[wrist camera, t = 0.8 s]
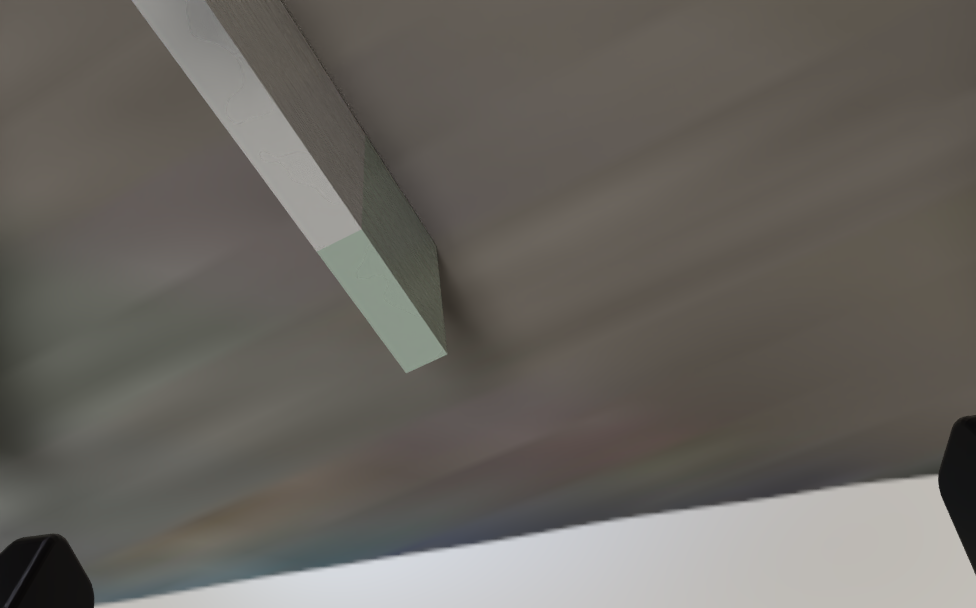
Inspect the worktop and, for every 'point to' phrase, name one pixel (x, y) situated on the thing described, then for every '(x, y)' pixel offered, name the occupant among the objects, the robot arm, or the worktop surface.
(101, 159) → the worktop surface
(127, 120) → the worktop surface
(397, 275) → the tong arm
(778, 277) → the worktop surface
